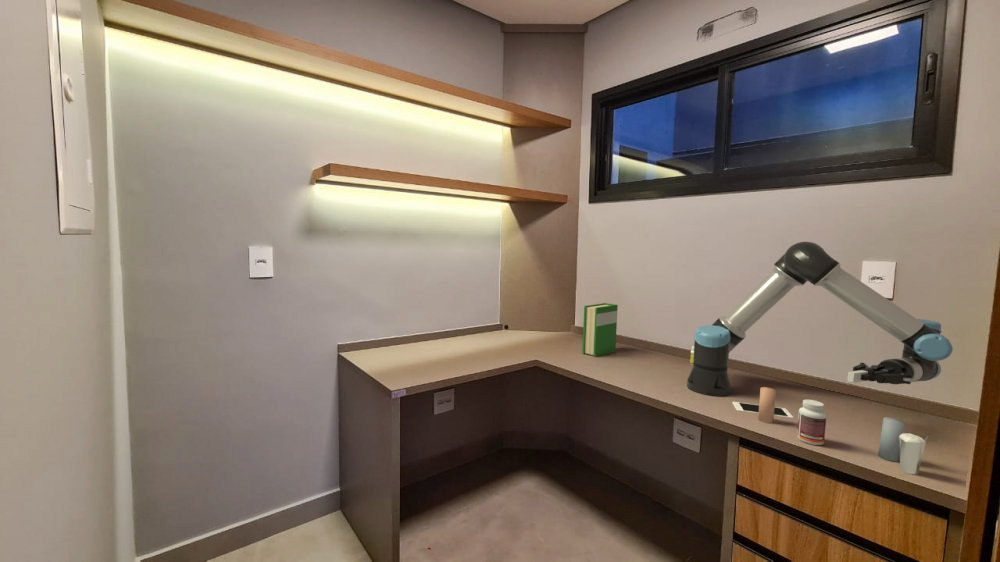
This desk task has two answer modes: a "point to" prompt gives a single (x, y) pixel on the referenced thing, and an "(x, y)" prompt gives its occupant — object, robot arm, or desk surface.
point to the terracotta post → (766, 405)
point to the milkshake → (911, 452)
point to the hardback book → (599, 329)
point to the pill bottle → (811, 423)
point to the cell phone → (755, 409)
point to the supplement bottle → (692, 356)
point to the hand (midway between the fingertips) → (850, 377)
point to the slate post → (891, 439)
